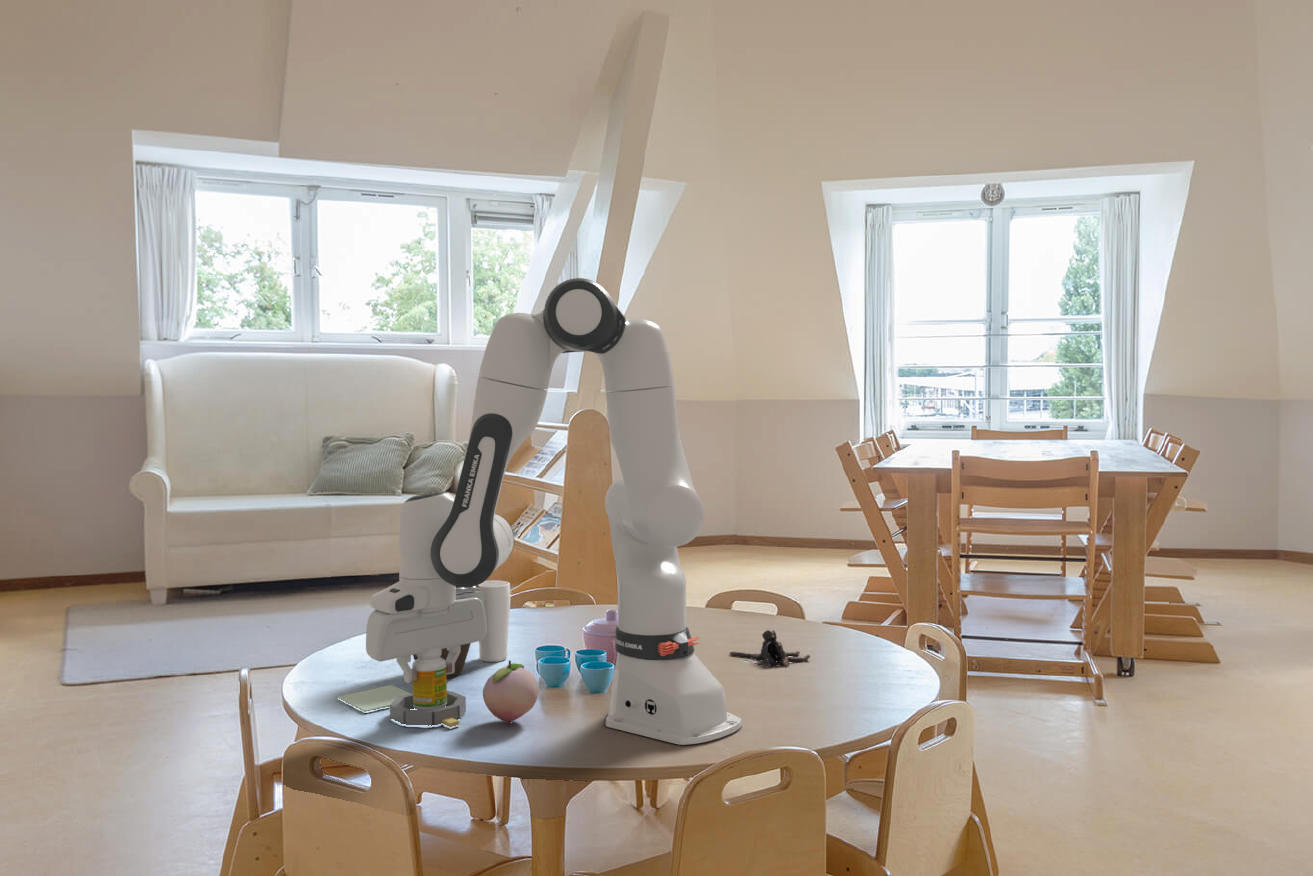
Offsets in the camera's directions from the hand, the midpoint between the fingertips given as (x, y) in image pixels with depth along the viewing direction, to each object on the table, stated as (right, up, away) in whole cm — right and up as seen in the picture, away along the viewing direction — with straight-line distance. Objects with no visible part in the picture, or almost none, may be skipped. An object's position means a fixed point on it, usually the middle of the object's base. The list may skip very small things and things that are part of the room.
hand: (429, 677), depth 159 cm
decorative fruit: (+14, -7, -3) cm, 16 cm away
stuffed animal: (+59, -5, +35) cm, 68 cm away
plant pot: (-4, -5, +24) cm, 25 cm away
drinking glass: (+5, -5, +35) cm, 35 cm away
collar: (0, -6, 0) cm, 6 cm away
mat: (-11, -6, +8) cm, 15 cm away
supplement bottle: (0, -5, 0) cm, 5 cm away
